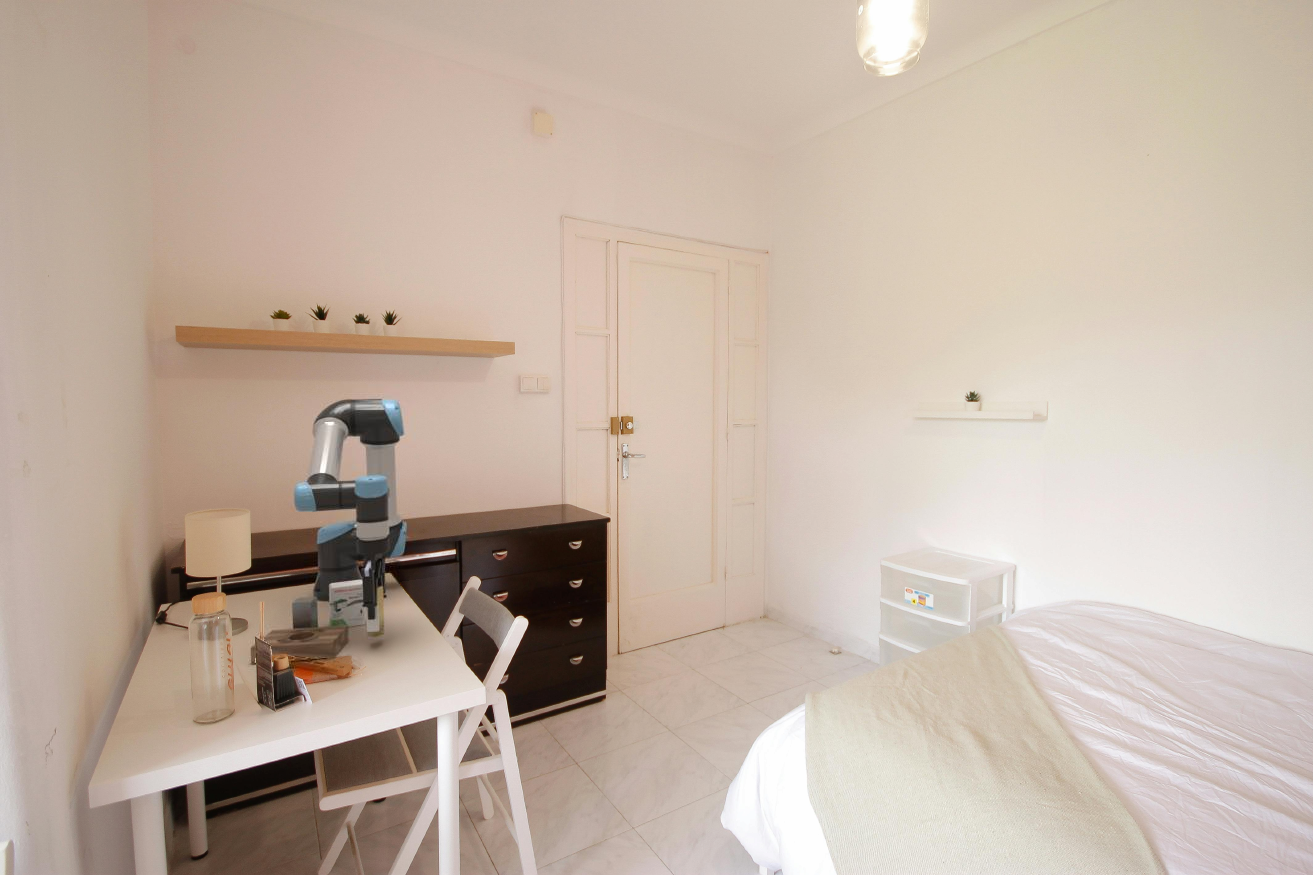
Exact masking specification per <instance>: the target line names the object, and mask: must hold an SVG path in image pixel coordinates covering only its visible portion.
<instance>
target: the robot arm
mask: <svg viewBox="0 0 1313 875" xmlns="http://www.w3.org/2000/svg"><path fill="white" fill-rule="evenodd" d="M311 432H312V435H313V438H314V440H313V445H312V452H311V454H310V455H311V456H310V460H309V467H308V471H307V476H306V481H304V482H299V483H296V484H295V486H294V488H293V489H294V490H293V500H294V501H293V502H294V503H293V504H294V508H295V509H296V510H297V511H298V512H312V513H314V512H315V513H316V512H326V511H338V510H339V511H340V510H355V516H356V517H355V520H343V521H339V522H335V523H330V524H327V525H323V526H322V527H321V528H319V529H318V530H317V537H316V538H317V541H316V544H317V568H318V569H317V571H318V572H317V573H318V574H317V576H316V579H315V582H314V586H313V589H312V597H317V601H326V602H327V601H329V585H330V584H331V583H337V582H345V581H354V580H362V584H363V605H362V607H365V617H366V633H367V632H374V631H379V605H377V586H378V585H381V586H383V599H387V597H388V595H387V594H386V560H387V559H391V558H401V556H403V554H404V552H405V548H406V540H407V539H406V538H407V530H408V529H407V528H408V526H407V521H403V517H402V516H401V515H400V514H398V508H397V507H398V506H397V505H398V504H397V500H398V499H397V473H396V472H397V471H396V446H397V444H399V443H400V439H401V438H400V437H402V436H404V435H405V428H404V421H403V416H402V409H401V405H400V403H399V402H398V400H396V399H386V398H361V399H360V398H357V399H355V398H354V399H351V398H348V399H341V400H337V401H335V402H334V403H333V402H332V403H331V404H329V405H328V406H327V407H325V408H323V410H321V412H319V414H318V415H317V416H316V418H315V419H314V421H313V425H312V430H311ZM348 437H353V438H355V437H359V443H360V444H361V445H363V446H364V448H365V463H366V475H363V476H358V477H356V478H355V480H340V473H341V472H340V471H341V464H342V457H343V456H342V455H343V448H344V441H346V440H347V438H348ZM360 561H363V566H362V568H361V570H360V569H359V562H360Z"/></svg>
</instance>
